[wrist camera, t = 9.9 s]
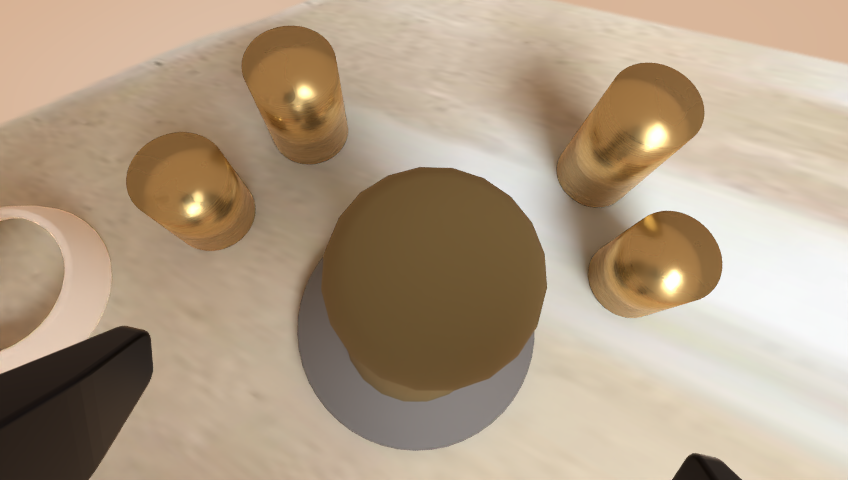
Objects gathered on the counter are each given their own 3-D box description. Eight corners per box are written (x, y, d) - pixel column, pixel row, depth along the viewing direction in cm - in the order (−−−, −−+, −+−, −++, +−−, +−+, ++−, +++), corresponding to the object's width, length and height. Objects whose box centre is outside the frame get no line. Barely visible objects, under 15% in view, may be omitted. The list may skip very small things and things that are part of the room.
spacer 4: (640, 334, 21) (694, 322, 17) (573, 283, 22) (612, 261, 18) (678, 273, 22) (738, 249, 18) (614, 226, 23) (658, 193, 19)
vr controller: (164, 373, 15) (-203, 456, 10) (106, 360, 24) (-101, 401, 19) (137, 137, 15) (-221, 114, 11) (91, 212, 24) (-114, 217, 20)
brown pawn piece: (381, 430, 19) (367, 480, 8) (320, 294, 20) (242, 190, 10) (513, 359, 20) (646, 324, 9) (446, 235, 21) (496, 86, 11)
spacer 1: (213, 266, 21) (173, 239, 17) (156, 217, 21) (105, 179, 18) (271, 208, 22) (246, 169, 18) (215, 162, 22) (179, 115, 19)
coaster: (436, 505, 19) (437, 508, 18) (250, 341, 20) (246, 339, 19) (573, 307, 21) (578, 305, 21) (401, 175, 23) (401, 170, 22)
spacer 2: (312, 178, 22) (291, 121, 18) (257, 134, 23) (221, 67, 18) (363, 127, 23) (355, 60, 19) (308, 86, 24) (287, 10, 19)
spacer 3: (604, 221, 23) (675, 164, 17) (542, 177, 23) (591, 107, 18) (641, 169, 24) (720, 99, 18) (581, 127, 24) (640, 46, 18)
